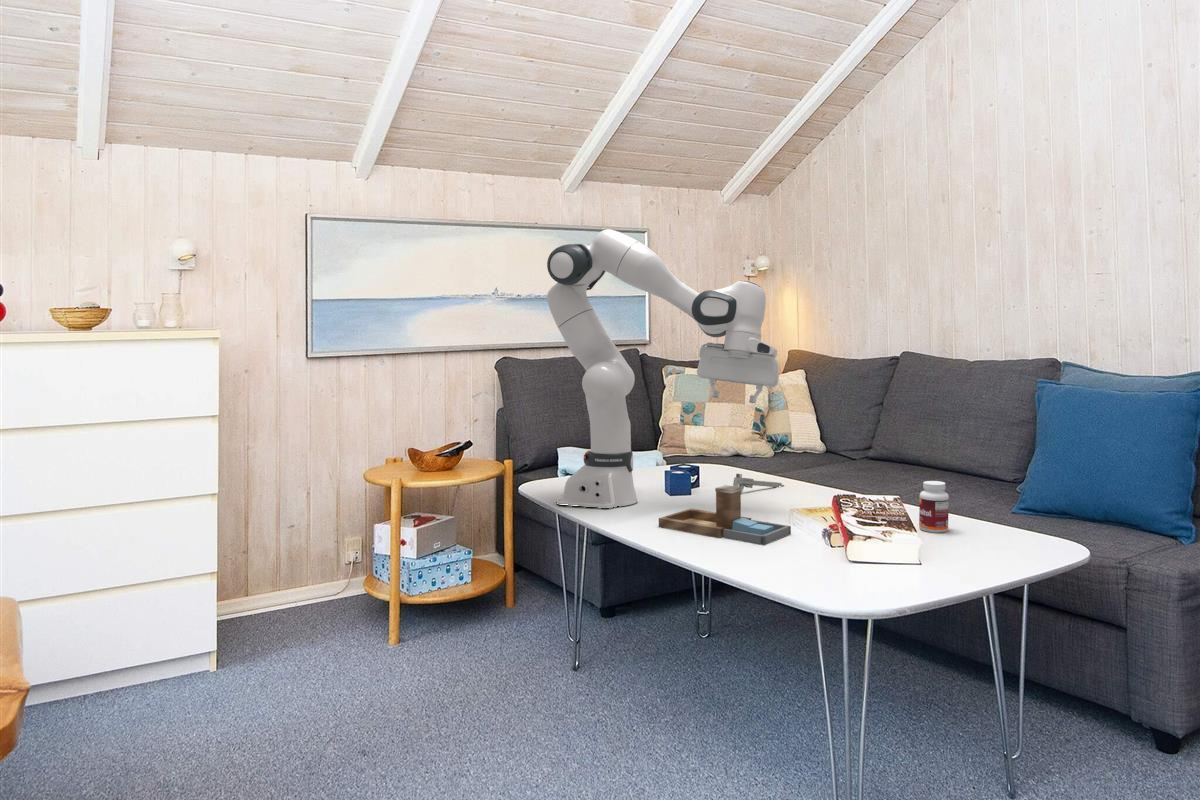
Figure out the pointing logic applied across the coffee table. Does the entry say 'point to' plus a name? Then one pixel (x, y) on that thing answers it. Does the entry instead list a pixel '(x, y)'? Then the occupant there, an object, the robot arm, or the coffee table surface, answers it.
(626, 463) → the robot arm
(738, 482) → the caliper
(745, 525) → the pale blue block
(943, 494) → the pill bottle
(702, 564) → the coffee table surface
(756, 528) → the light blue block
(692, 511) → the slot board
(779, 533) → the tray
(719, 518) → the block
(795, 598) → the coffee table surface
